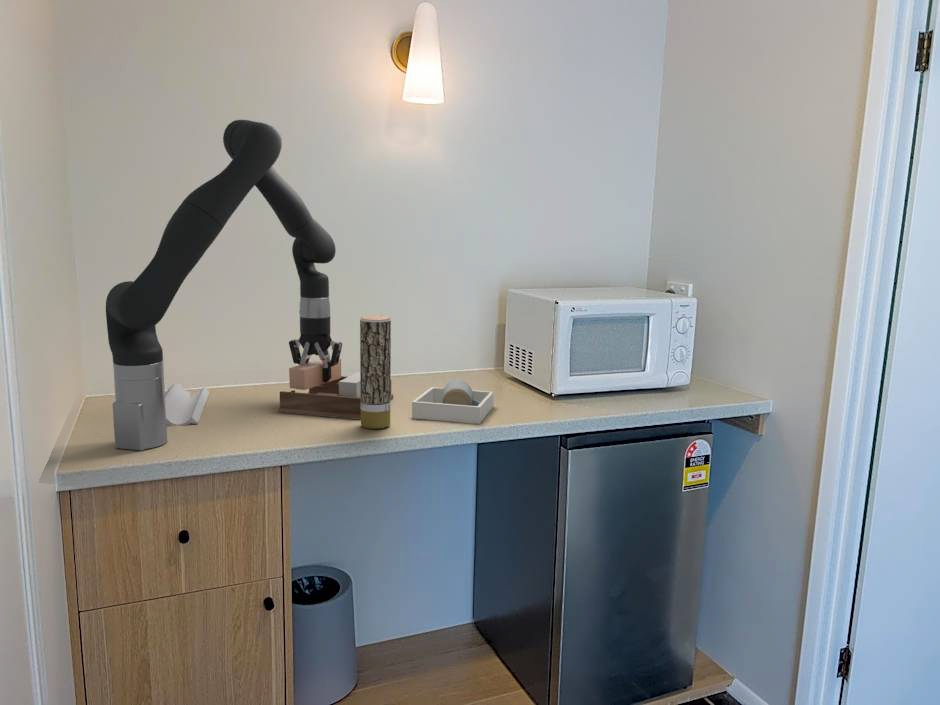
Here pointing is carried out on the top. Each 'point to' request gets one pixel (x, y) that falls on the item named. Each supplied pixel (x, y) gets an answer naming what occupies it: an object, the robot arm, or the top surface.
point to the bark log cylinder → (375, 371)
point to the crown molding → (184, 405)
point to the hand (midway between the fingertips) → (316, 380)
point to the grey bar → (350, 386)
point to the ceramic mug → (458, 394)
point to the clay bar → (311, 374)
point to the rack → (321, 402)
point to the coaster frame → (451, 407)
